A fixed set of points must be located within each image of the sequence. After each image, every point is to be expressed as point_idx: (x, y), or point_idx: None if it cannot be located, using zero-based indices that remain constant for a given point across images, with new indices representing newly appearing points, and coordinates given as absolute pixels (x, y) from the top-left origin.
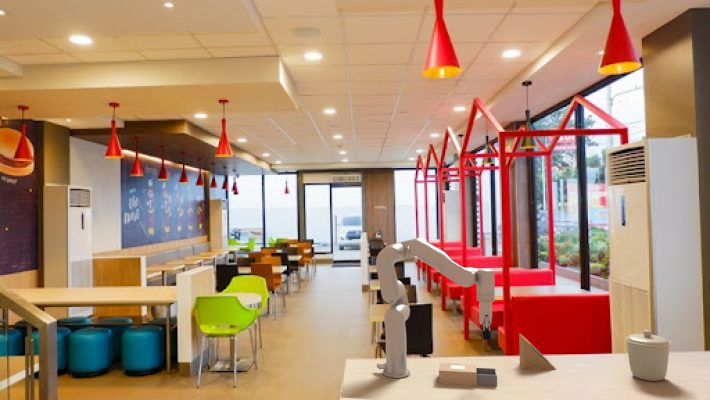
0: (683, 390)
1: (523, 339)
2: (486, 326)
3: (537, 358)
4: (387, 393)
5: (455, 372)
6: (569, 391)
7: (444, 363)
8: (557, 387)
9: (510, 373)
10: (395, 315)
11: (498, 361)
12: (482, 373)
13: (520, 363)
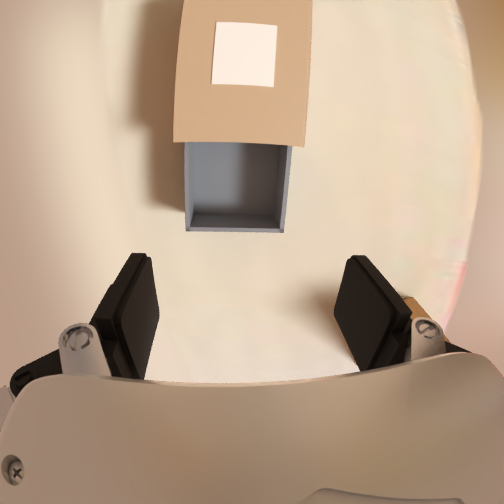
0: None
1: None
2: (8, 396)
3: None
4: None
5: (179, 45)
6: (203, 376)
7: (304, 4)
8: (225, 363)
9: (340, 269)
10: None
11: (440, 244)
12: (280, 169)
13: (407, 300)
